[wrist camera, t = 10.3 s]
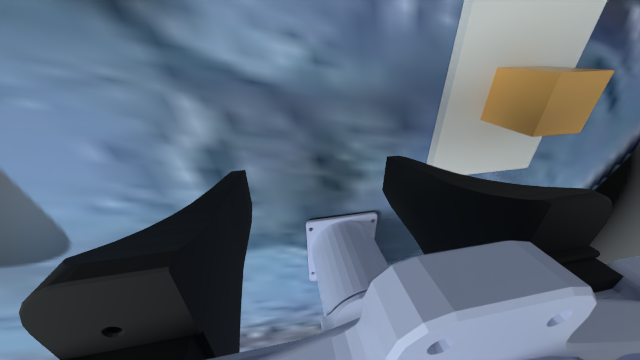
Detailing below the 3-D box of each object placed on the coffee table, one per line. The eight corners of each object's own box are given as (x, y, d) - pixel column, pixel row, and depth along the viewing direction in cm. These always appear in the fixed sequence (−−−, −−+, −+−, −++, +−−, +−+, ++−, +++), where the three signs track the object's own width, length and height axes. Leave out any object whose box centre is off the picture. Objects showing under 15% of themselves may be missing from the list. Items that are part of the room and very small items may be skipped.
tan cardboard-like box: (520, 116, 22) (579, 132, 18) (480, 119, 21) (532, 136, 17) (541, 66, 20) (614, 70, 16) (497, 67, 19) (561, 72, 15)
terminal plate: (519, 163, 26) (561, 183, 23) (423, 174, 25) (452, 197, 21) (600, -16, 19) (686, -33, 15) (468, -19, 17) (527, -40, 13)
